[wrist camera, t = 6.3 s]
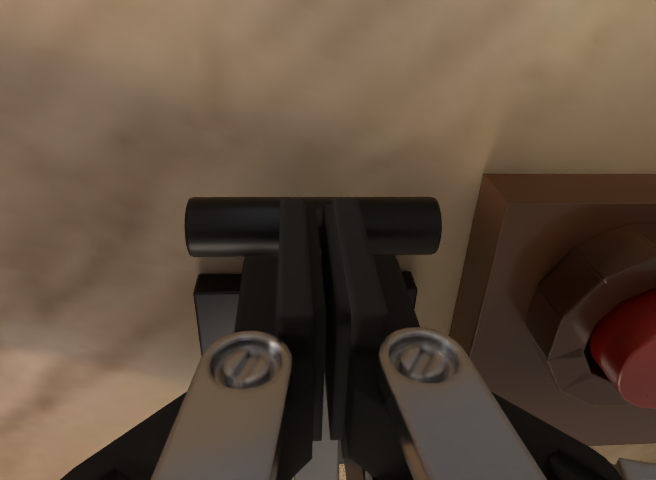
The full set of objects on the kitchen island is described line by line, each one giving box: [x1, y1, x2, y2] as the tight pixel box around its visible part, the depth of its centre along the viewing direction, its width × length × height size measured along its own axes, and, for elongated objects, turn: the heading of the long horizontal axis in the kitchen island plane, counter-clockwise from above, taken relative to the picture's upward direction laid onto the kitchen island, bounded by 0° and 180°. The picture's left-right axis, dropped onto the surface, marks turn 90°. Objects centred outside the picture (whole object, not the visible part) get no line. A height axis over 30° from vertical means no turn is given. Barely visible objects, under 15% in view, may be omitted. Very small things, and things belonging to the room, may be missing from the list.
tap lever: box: [185, 197, 442, 480], centre depth 13 cm, size 13×6×2 cm, turn 179°
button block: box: [449, 174, 656, 446], centre depth 19 cm, size 12×10×4 cm
